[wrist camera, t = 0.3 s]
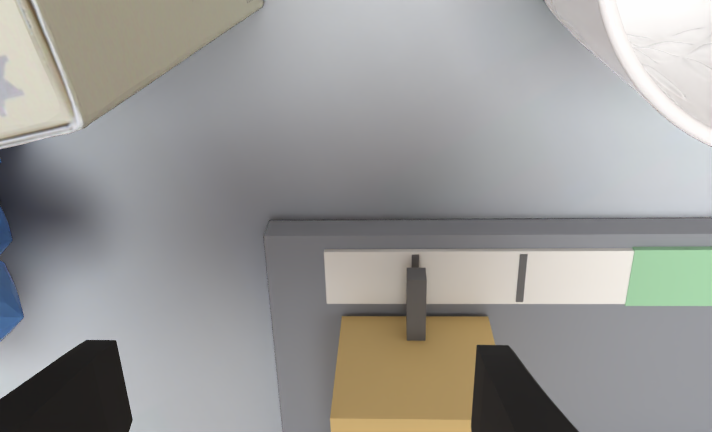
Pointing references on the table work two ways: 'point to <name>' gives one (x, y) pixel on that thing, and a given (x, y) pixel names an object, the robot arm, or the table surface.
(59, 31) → the skincare box
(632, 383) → the gauge track
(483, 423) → the robot arm
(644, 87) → the white cup
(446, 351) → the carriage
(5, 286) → the grapes
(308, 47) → the table surface
